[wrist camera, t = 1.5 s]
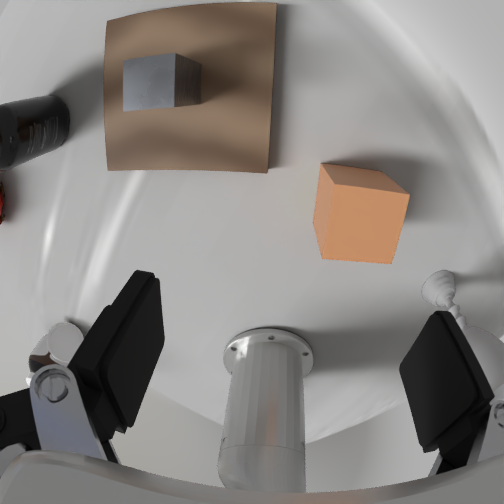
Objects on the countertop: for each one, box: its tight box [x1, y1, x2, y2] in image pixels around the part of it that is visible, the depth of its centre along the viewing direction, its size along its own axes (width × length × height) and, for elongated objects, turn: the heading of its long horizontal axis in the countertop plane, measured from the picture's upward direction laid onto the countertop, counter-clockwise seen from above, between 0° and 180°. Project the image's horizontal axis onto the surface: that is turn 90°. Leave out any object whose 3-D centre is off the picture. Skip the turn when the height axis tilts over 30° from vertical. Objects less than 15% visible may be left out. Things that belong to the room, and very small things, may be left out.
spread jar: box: [26, 322, 84, 386], centre depth 38 cm, size 12×11×12 cm
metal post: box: [123, 53, 202, 112], centre depth 19 cm, size 4×4×7 cm
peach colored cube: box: [313, 163, 410, 264], centre depth 24 cm, size 6×6×7 cm
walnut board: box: [104, 2, 277, 173], centre depth 23 cm, size 16×16×2 cm
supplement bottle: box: [0, 95, 69, 171], centre depth 20 cm, size 7×7×12 cm
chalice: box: [422, 270, 504, 405], centre depth 24 cm, size 7×7×18 cm
